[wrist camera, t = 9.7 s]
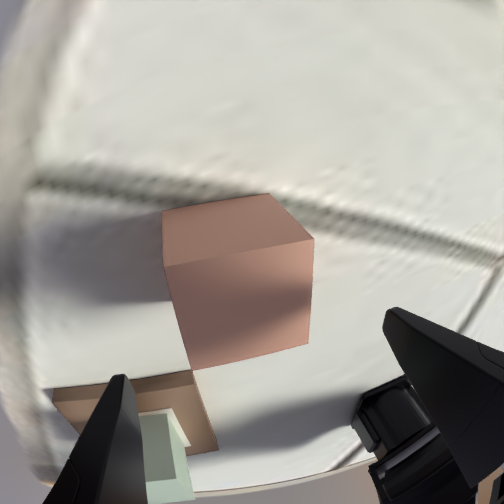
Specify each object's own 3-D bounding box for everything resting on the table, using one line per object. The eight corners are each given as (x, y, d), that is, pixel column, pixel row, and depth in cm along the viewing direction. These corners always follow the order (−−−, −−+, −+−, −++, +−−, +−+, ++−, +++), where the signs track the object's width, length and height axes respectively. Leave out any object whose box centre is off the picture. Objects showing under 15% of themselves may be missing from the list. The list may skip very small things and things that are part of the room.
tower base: (191, 369, 19) (194, 385, 18) (216, 438, 24) (219, 451, 23) (54, 388, 17) (51, 403, 16) (109, 453, 22) (109, 465, 21)
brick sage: (183, 444, 21) (194, 499, 17) (125, 451, 20) (129, 505, 16) (166, 413, 19) (176, 478, 14) (99, 421, 18) (99, 484, 13)
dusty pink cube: (268, 192, 15) (314, 238, 11) (272, 280, 17) (308, 343, 13) (161, 210, 14) (163, 266, 10) (180, 299, 16) (191, 370, 12)
